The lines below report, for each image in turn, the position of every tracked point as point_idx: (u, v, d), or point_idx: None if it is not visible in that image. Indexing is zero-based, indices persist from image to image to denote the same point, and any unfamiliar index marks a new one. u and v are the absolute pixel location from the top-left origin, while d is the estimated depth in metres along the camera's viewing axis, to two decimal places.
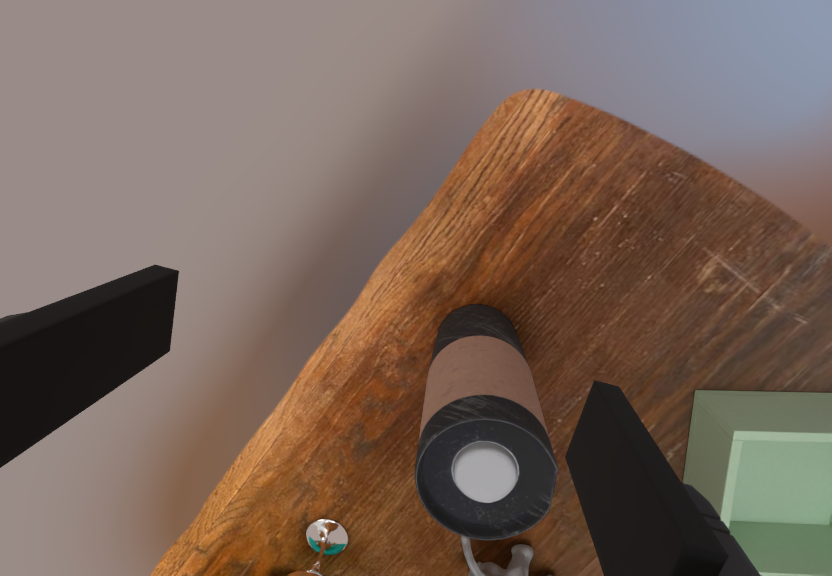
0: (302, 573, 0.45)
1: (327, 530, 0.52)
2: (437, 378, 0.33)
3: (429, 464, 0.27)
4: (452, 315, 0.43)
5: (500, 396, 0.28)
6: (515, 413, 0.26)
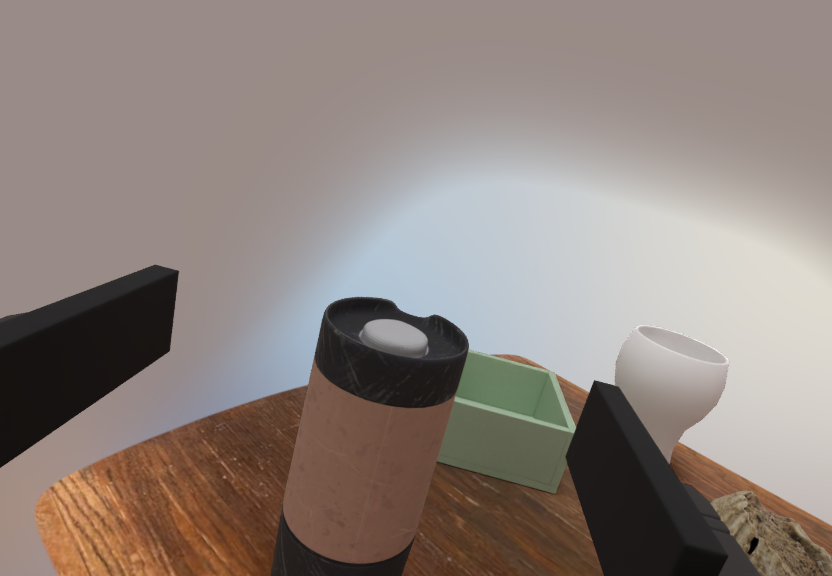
0: None
1: None
2: (308, 459, 0.25)
3: None
4: None
5: None
6: None
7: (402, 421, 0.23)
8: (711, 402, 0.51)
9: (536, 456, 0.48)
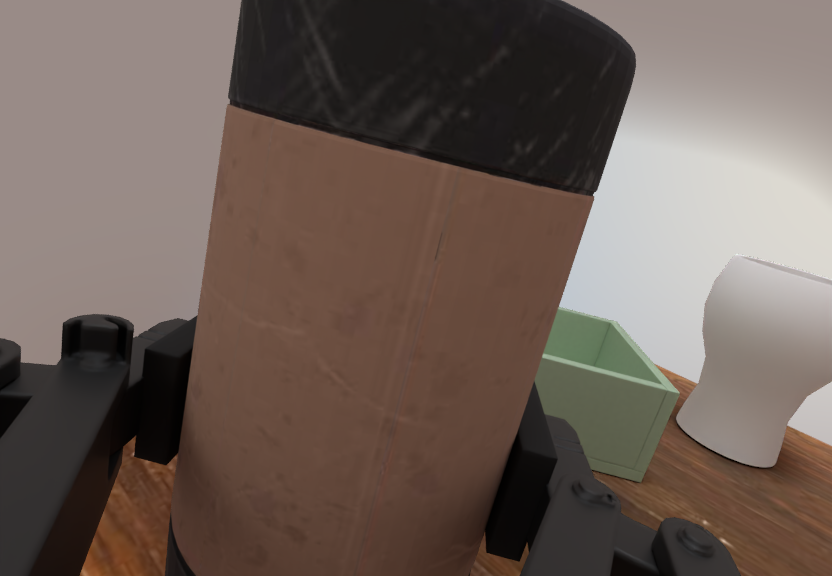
0: None
1: None
2: (209, 361, 0.09)
3: None
4: None
5: None
6: None
7: (477, 220, 0.07)
8: None
9: (614, 427, 0.33)
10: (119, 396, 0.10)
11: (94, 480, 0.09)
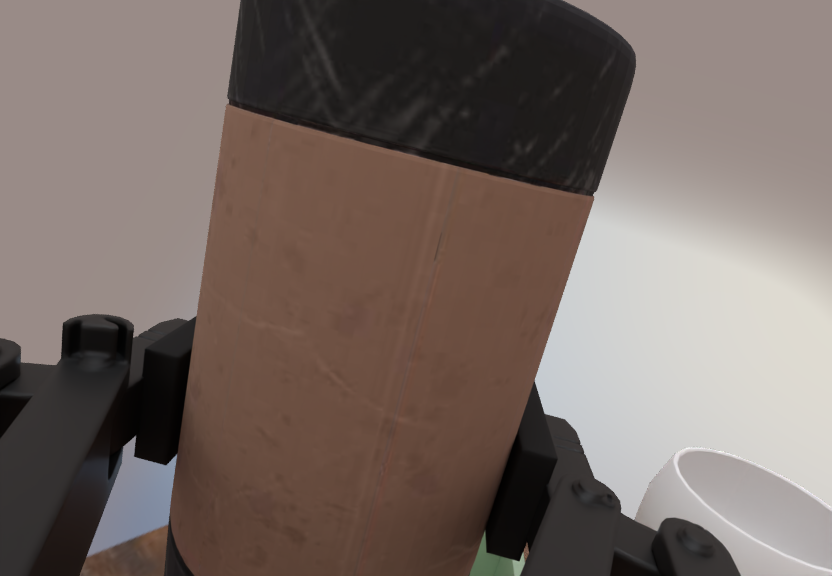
0: None
1: None
2: (208, 361, 0.09)
3: None
4: None
5: None
6: None
7: (477, 220, 0.07)
8: None
9: None
10: (119, 396, 0.10)
11: (94, 480, 0.09)
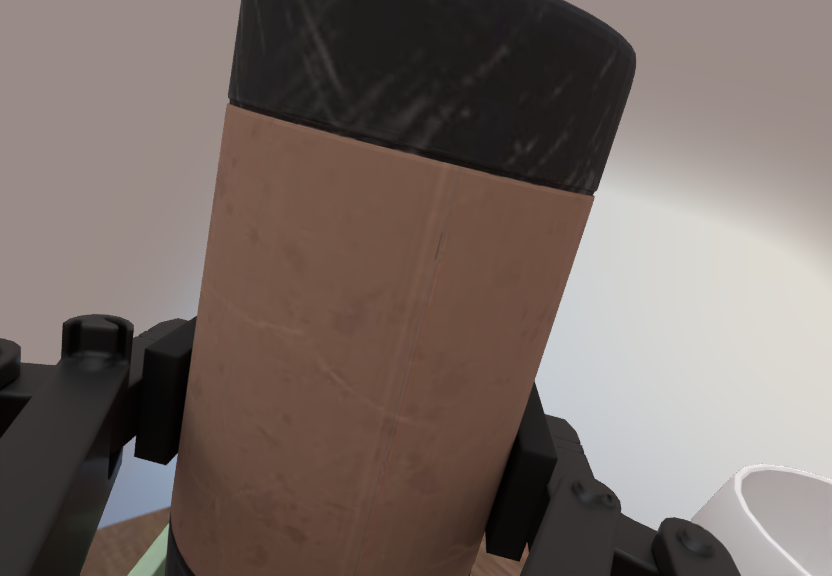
0: None
1: None
2: (209, 361, 0.09)
3: None
4: None
5: None
6: None
7: (477, 220, 0.07)
8: None
9: None
10: (119, 396, 0.10)
11: (94, 480, 0.09)
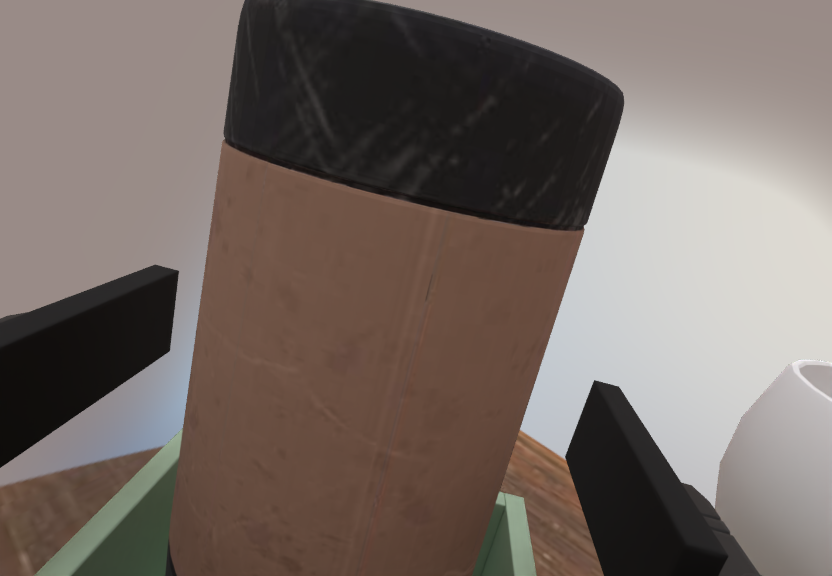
0: None
1: None
2: (206, 393, 0.09)
3: None
4: None
5: None
6: None
7: (466, 262, 0.08)
8: None
9: None
10: None
11: None
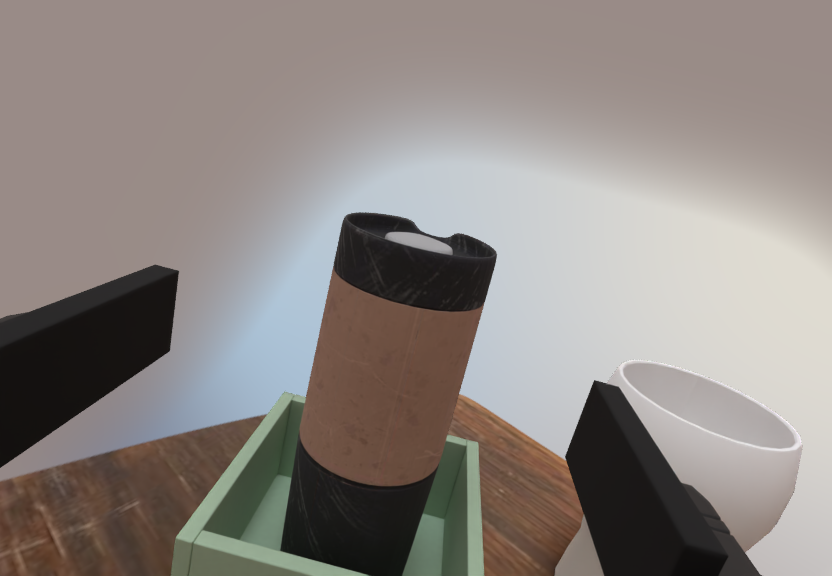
0: None
1: None
2: (327, 374, 0.23)
3: None
4: None
5: None
6: None
7: (430, 325, 0.22)
8: (769, 524, 0.25)
9: None
10: None
11: None
